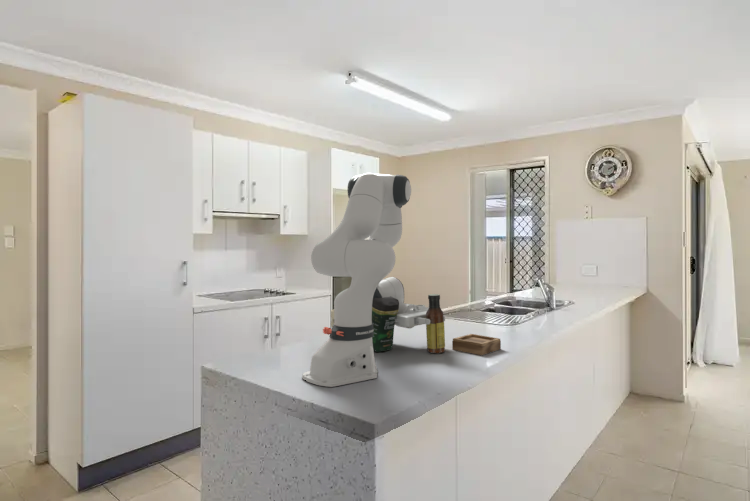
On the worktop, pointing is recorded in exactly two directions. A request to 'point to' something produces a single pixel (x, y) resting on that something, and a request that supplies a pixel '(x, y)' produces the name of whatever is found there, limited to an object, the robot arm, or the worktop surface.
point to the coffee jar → (383, 322)
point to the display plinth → (476, 344)
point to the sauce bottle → (435, 326)
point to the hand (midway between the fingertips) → (437, 320)
